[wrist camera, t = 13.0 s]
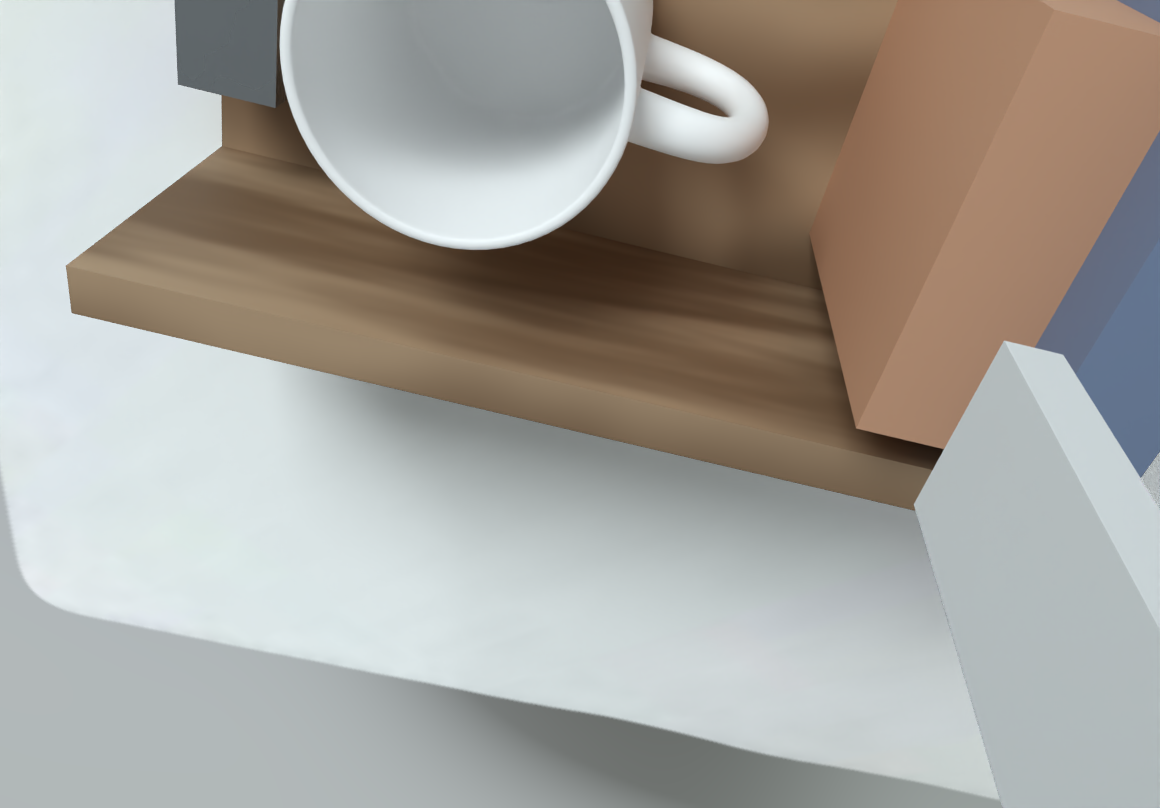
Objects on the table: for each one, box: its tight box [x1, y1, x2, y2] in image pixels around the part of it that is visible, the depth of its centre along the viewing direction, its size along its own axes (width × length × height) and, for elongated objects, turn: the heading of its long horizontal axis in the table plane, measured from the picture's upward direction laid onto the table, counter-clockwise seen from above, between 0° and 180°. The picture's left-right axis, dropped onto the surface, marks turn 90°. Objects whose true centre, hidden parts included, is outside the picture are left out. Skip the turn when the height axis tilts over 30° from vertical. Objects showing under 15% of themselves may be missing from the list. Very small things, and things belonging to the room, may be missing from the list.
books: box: [809, 0, 1160, 478], centre depth 24 cm, size 11×6×14 cm, turn 168°
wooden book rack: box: [66, 0, 944, 511], centre depth 26 cm, size 17×28×12 cm, turn 78°
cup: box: [280, 0, 769, 250], centre depth 26 cm, size 8×12×10 cm
